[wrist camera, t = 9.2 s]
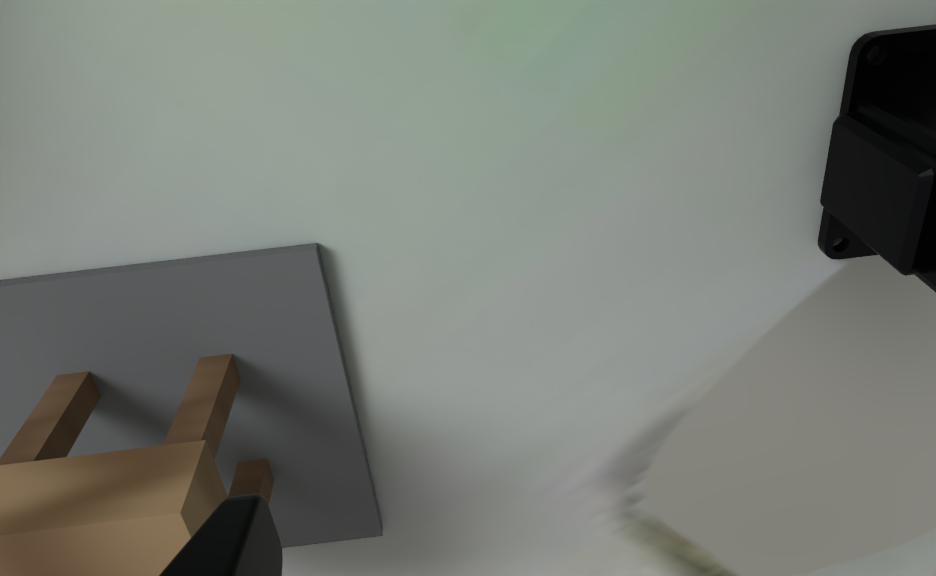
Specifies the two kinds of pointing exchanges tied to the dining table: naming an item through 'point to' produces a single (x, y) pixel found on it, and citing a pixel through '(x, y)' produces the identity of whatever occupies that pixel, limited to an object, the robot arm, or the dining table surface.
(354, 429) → the mat
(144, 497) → the stool
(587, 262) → the dining table surface
